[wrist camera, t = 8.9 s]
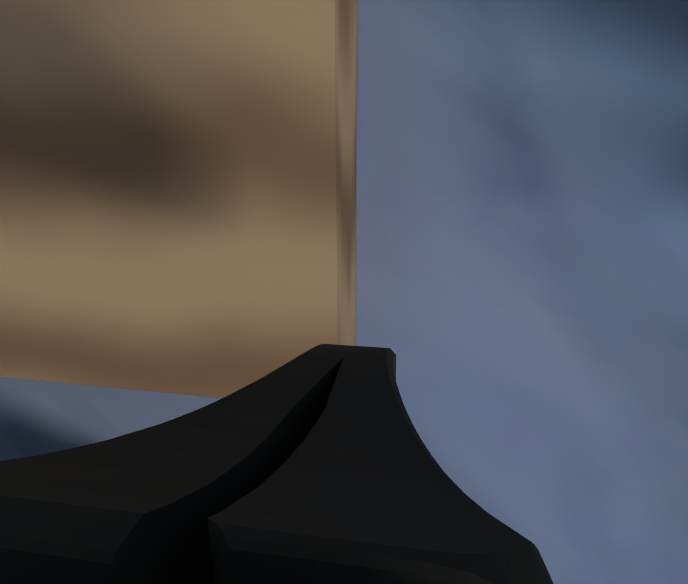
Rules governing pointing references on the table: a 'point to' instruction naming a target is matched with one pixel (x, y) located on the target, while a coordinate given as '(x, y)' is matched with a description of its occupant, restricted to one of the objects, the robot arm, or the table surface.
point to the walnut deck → (175, 189)
